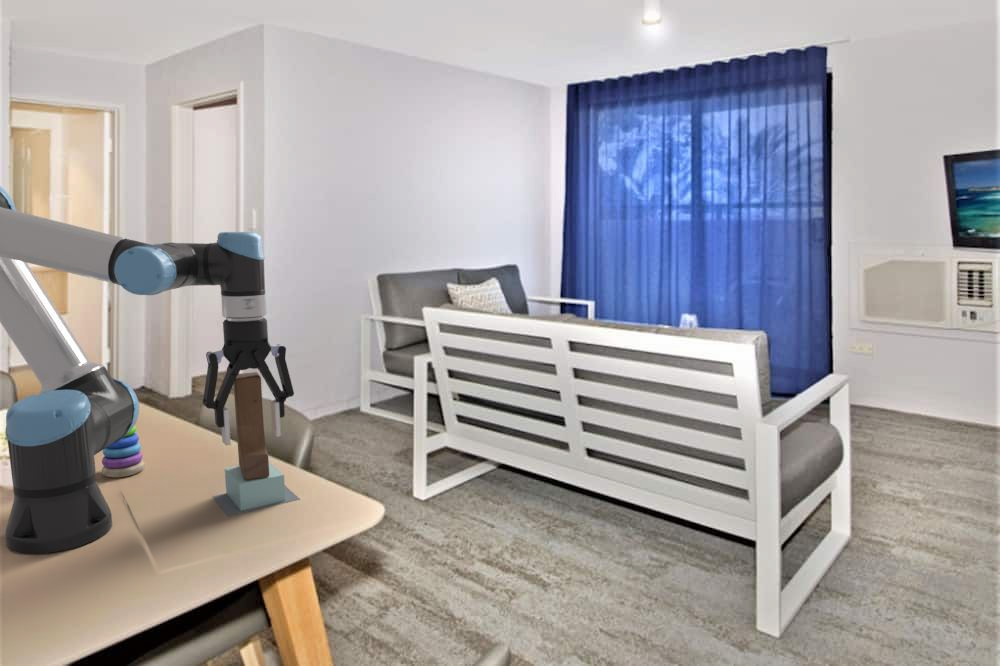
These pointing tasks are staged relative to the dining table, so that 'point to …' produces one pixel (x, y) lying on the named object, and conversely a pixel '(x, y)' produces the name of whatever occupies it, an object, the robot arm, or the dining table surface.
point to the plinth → (254, 488)
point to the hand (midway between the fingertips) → (252, 438)
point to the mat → (233, 509)
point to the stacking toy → (123, 457)
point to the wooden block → (250, 426)
